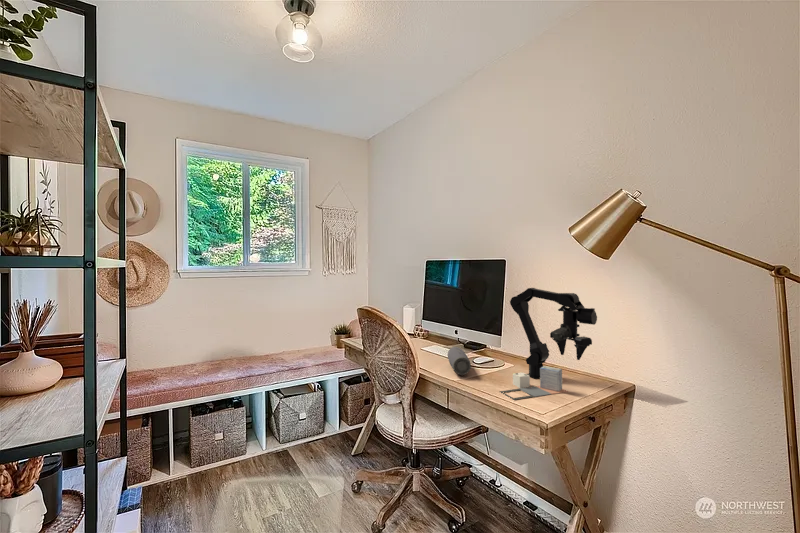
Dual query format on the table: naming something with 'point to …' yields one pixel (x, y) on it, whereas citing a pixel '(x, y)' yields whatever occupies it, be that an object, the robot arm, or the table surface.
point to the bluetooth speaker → (459, 360)
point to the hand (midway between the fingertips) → (570, 357)
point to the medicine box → (551, 378)
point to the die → (521, 380)
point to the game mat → (533, 392)
